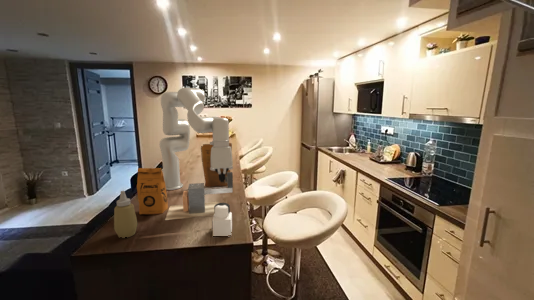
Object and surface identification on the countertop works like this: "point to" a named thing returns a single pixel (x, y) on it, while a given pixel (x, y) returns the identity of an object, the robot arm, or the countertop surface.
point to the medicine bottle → (222, 220)
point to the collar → (185, 201)
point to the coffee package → (151, 191)
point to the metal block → (196, 198)
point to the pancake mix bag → (210, 175)
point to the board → (178, 212)
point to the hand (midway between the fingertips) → (222, 181)
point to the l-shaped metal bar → (222, 189)
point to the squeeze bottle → (124, 217)
